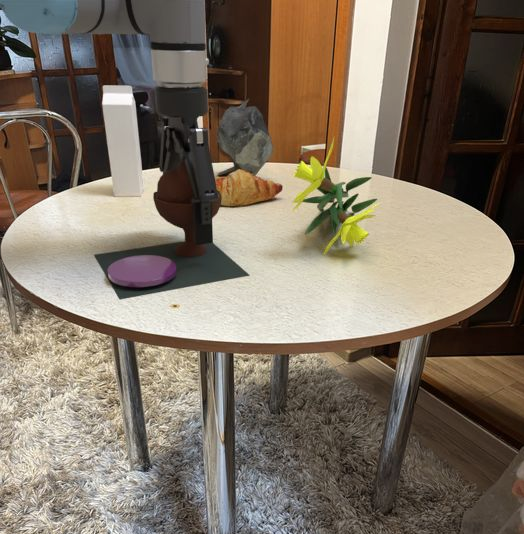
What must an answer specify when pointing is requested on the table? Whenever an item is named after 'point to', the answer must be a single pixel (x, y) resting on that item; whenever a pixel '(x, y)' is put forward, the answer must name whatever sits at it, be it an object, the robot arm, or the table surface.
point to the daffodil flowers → (332, 191)
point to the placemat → (188, 268)
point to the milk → (123, 140)
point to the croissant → (245, 188)
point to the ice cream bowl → (180, 207)
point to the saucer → (142, 271)
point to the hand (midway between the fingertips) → (189, 229)
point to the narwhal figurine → (244, 139)
